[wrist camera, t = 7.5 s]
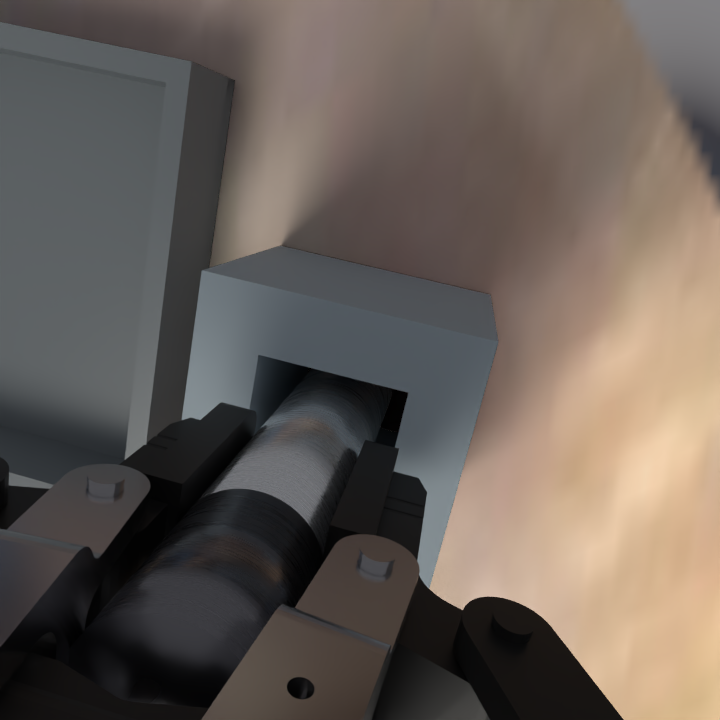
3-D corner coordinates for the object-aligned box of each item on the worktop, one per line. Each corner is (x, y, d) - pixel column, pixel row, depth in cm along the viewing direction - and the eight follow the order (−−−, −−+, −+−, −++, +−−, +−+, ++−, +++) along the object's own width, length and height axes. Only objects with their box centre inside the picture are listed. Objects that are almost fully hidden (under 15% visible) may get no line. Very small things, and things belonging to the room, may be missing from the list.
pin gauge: (400, 358, 18) (279, 652, 7) (382, 434, 19) (245, 818, 7) (319, 337, 18) (68, 588, 7) (304, 414, 19) (54, 755, 8)
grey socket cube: (490, 294, 19) (498, 341, 13) (438, 488, 21) (425, 602, 15) (280, 245, 20) (201, 270, 14) (247, 437, 22) (166, 528, 16)
